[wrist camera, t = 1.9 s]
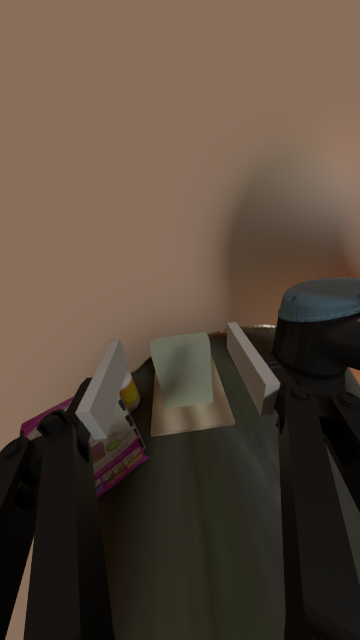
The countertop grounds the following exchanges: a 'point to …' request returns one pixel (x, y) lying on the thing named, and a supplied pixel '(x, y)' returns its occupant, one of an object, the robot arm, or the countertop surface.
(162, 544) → the countertop surface
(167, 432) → the board
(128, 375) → the supplement bottle
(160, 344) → the pale green rectangular block
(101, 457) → the candy bar box
